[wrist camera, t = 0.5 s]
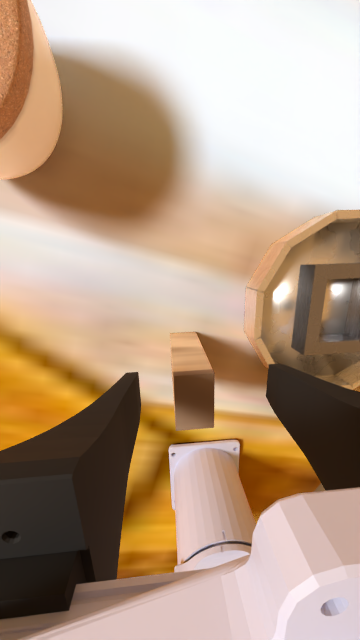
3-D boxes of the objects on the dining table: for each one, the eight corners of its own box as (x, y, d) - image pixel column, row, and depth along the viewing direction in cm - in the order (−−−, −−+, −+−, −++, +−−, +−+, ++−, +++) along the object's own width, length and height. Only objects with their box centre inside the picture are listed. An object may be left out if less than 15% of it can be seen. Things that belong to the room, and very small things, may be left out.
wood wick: (196, 368, 22) (213, 427, 14) (171, 370, 22) (176, 430, 14) (195, 331, 21) (214, 373, 13) (169, 333, 21) (173, 375, 13)
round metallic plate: (383, 373, 24) (408, 385, 21) (241, 383, 23) (250, 397, 20) (421, 214, 19) (458, 207, 17) (249, 218, 18) (261, 211, 16)
